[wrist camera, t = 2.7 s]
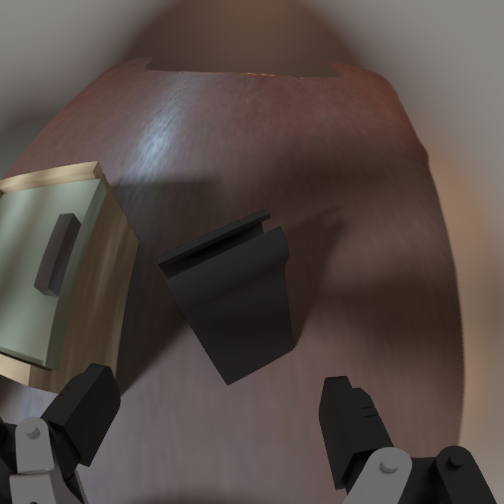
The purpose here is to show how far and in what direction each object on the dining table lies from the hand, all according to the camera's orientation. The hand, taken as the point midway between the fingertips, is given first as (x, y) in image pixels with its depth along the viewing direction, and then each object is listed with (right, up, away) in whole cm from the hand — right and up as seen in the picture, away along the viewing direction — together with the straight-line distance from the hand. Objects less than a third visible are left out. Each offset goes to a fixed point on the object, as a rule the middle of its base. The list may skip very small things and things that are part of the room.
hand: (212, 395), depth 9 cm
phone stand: (0, -1, +14) cm, 14 cm away
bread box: (-17, -1, +14) cm, 22 cm away
